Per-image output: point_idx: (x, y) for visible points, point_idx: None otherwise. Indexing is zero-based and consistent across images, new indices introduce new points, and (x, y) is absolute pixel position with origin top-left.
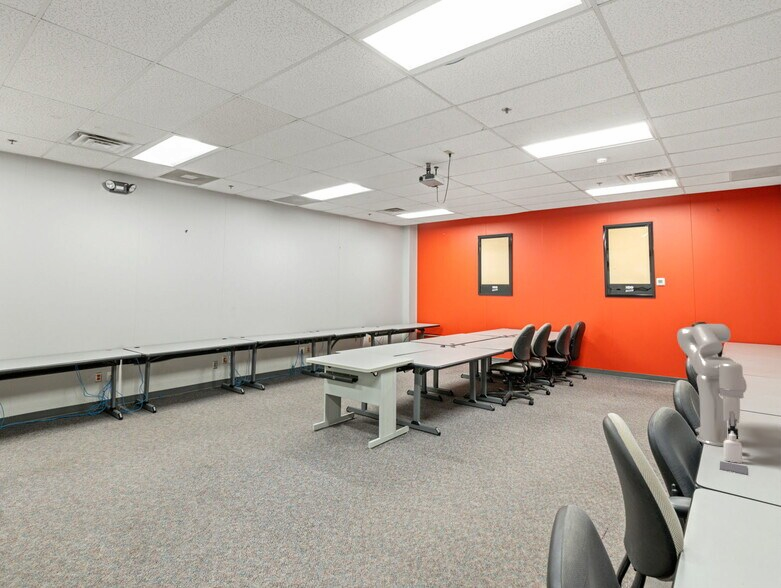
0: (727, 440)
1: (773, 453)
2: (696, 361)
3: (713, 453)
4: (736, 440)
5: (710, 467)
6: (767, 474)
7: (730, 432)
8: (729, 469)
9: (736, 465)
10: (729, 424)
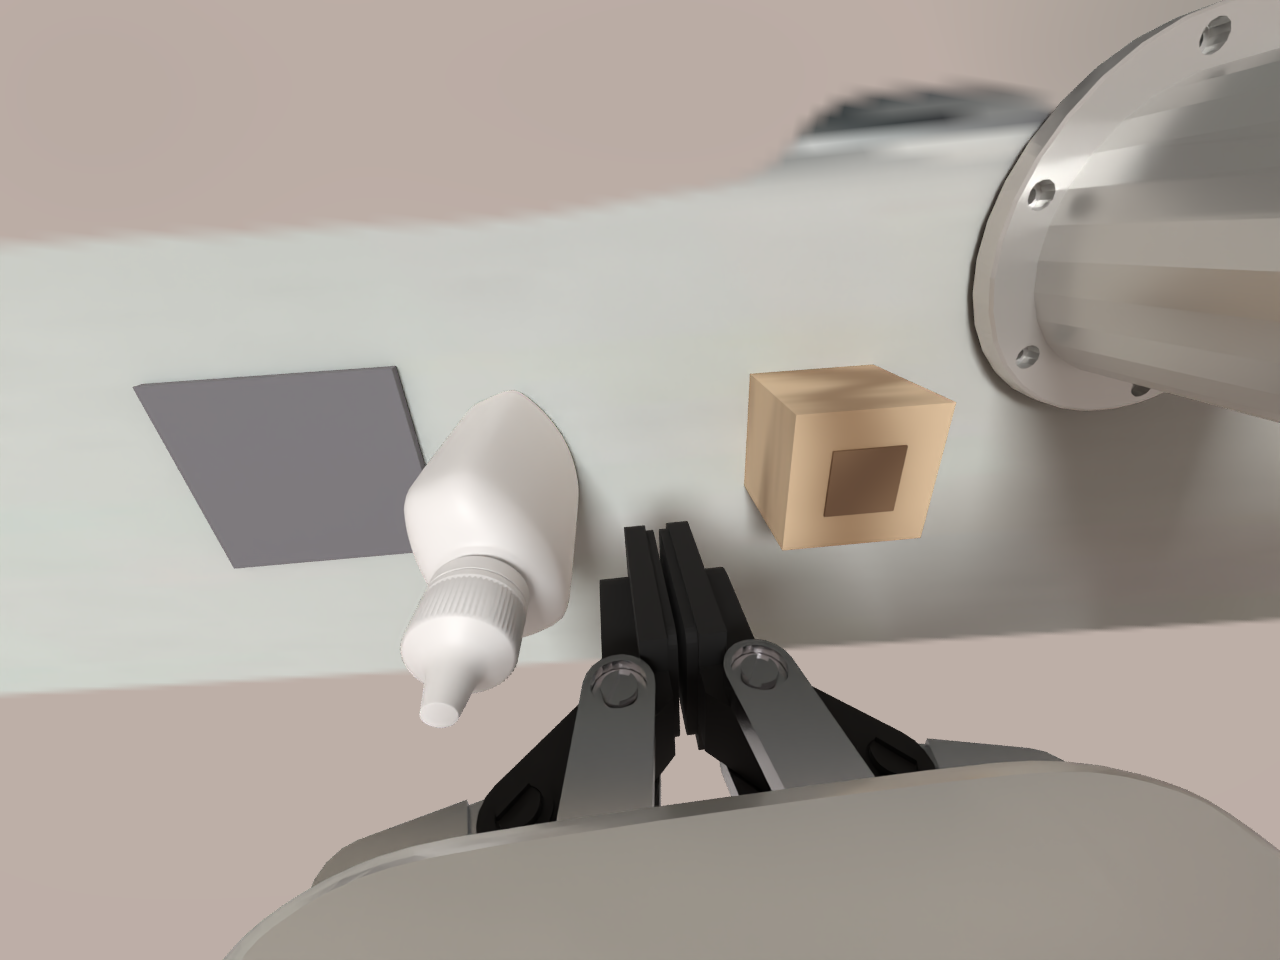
0: (442, 534)
1: (941, 635)
2: None
3: (665, 278)
4: (915, 511)
5: (112, 301)
6: (399, 644)
7: (602, 622)
8: (203, 458)
9: (391, 491)
10: (496, 805)
